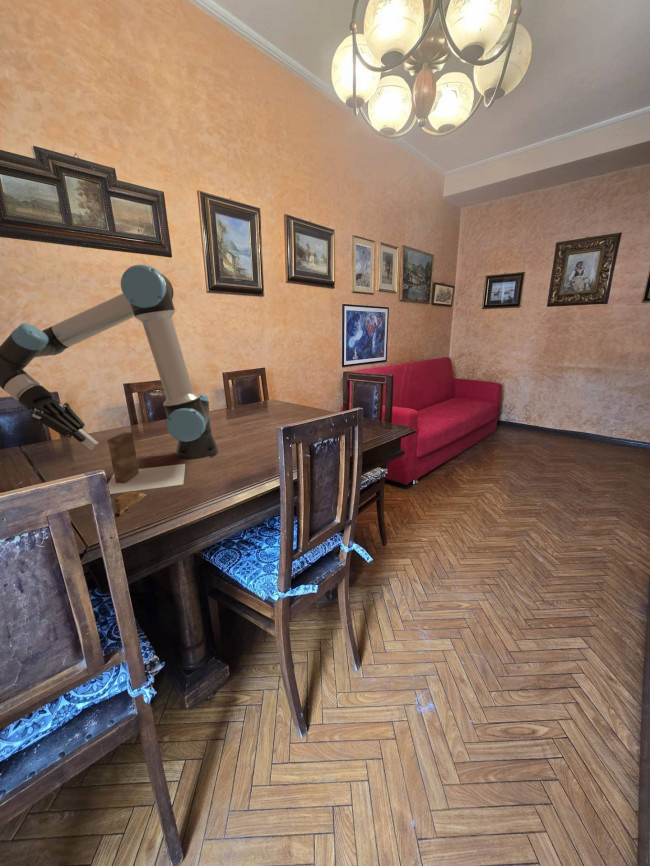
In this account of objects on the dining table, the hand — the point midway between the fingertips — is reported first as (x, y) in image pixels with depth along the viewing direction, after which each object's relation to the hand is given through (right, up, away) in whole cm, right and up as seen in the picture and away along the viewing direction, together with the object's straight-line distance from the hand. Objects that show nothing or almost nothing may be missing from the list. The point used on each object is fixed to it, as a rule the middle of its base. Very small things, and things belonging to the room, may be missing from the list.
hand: (94, 446), depth 108 cm
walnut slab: (+8, -10, +3) cm, 14 cm away
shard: (+18, -16, -11) cm, 27 cm away
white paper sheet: (+15, -11, +3) cm, 19 cm away
